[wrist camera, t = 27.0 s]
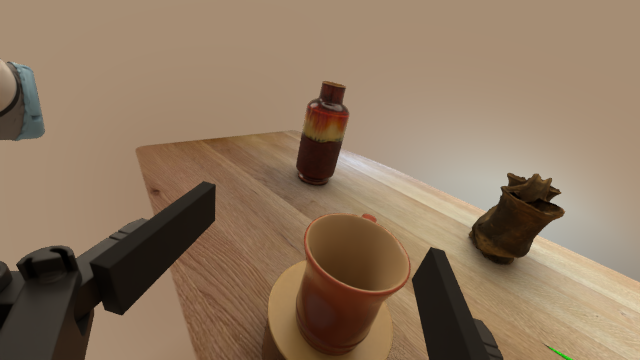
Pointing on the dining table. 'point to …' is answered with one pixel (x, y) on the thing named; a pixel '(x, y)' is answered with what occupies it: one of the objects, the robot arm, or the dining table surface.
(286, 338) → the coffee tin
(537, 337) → the dining table surface
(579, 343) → the dining table surface
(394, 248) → the mug
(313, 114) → the vase
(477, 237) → the pottery vessel
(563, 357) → the leaf
